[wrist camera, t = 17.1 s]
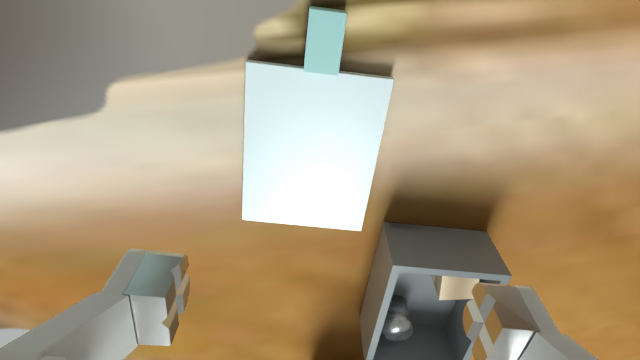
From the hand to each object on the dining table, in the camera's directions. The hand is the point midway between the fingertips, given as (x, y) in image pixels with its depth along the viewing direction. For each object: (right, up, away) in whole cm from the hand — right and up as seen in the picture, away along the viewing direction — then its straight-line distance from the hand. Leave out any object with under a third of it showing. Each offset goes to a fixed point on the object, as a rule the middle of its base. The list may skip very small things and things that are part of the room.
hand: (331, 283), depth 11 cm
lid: (-1, +8, +28) cm, 29 cm away
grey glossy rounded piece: (+9, -13, +39) cm, 42 cm away
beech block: (+15, -6, +35) cm, 39 cm away
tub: (+12, -9, +38) cm, 41 cm away
